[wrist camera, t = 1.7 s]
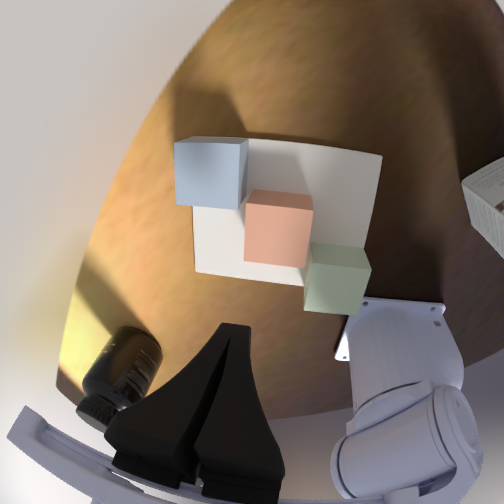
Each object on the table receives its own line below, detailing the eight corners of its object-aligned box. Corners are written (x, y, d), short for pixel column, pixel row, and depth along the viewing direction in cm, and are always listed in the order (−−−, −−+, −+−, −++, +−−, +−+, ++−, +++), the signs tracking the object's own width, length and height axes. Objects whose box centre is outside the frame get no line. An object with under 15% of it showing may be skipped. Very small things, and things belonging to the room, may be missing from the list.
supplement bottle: (112, 316, 29) (58, 393, 19) (164, 336, 29) (118, 426, 19) (118, 352, 33) (77, 422, 22) (165, 370, 32) (130, 448, 22)
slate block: (248, 138, 18) (239, 144, 15) (246, 195, 20) (237, 210, 17) (191, 136, 18) (174, 142, 15) (192, 191, 20) (176, 204, 17)
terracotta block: (311, 195, 19) (313, 210, 16) (304, 246, 21) (304, 268, 18) (253, 189, 19) (246, 203, 17) (250, 240, 21) (243, 261, 19)
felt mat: (380, 155, 17) (382, 156, 17) (351, 288, 22) (351, 291, 22) (193, 136, 18) (191, 136, 18) (197, 269, 24) (195, 271, 23)
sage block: (363, 248, 20) (371, 269, 17) (351, 291, 22) (356, 315, 19) (311, 241, 20) (313, 262, 18) (304, 286, 22) (303, 310, 20)
